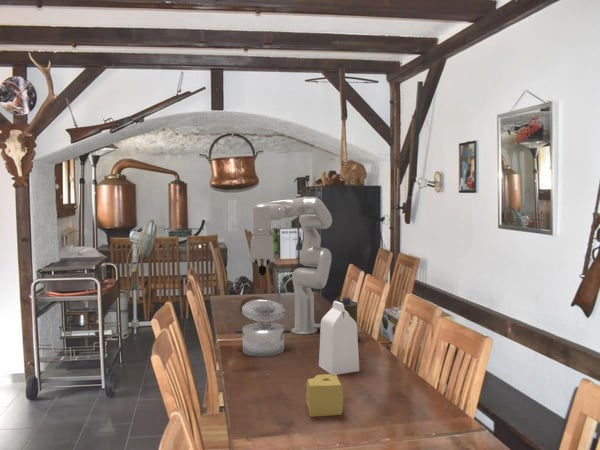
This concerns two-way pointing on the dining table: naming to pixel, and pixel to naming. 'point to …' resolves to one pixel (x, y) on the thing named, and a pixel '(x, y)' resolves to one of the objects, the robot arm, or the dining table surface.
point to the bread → (250, 300)
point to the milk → (338, 341)
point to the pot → (263, 339)
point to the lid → (263, 310)
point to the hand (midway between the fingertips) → (262, 274)
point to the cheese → (324, 395)
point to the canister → (350, 307)
